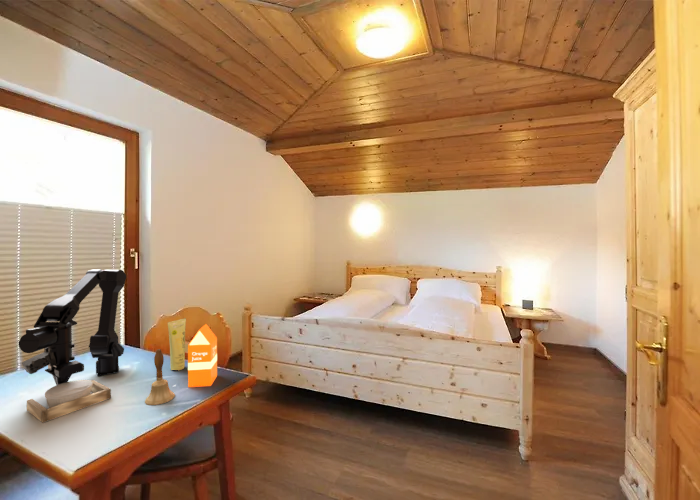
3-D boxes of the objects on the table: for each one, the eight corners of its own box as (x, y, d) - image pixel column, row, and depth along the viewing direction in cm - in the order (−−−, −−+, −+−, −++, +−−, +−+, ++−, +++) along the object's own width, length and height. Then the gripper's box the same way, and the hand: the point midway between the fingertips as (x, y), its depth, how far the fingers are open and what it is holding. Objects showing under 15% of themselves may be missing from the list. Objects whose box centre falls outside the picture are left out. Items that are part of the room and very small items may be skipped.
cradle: (93, 388, 109) (93, 380, 109) (110, 398, 102) (110, 388, 102) (26, 410, 95) (26, 400, 95) (42, 422, 88) (42, 412, 88)
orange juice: (217, 375, 120) (217, 322, 120) (211, 385, 112) (211, 329, 111) (195, 376, 119) (195, 323, 119) (187, 387, 110) (187, 330, 110)
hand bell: (143, 407, 97) (142, 355, 96) (146, 396, 104) (145, 347, 104) (174, 401, 100) (174, 351, 100) (175, 390, 108) (174, 344, 107)
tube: (182, 371, 124) (181, 321, 124) (167, 372, 123) (167, 322, 122) (186, 365, 130) (185, 318, 129) (172, 366, 128) (172, 318, 128)
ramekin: (63, 416, 92) (62, 398, 92) (35, 410, 95) (34, 393, 94) (101, 397, 103) (101, 381, 103) (75, 393, 105) (75, 377, 105)
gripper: (15, 344, 100) (16, 393, 100) (36, 355, 90) (37, 409, 91) (60, 335, 109) (61, 380, 110) (84, 344, 100) (85, 393, 100)
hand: (60, 390), depth 102 cm, fingers closed
